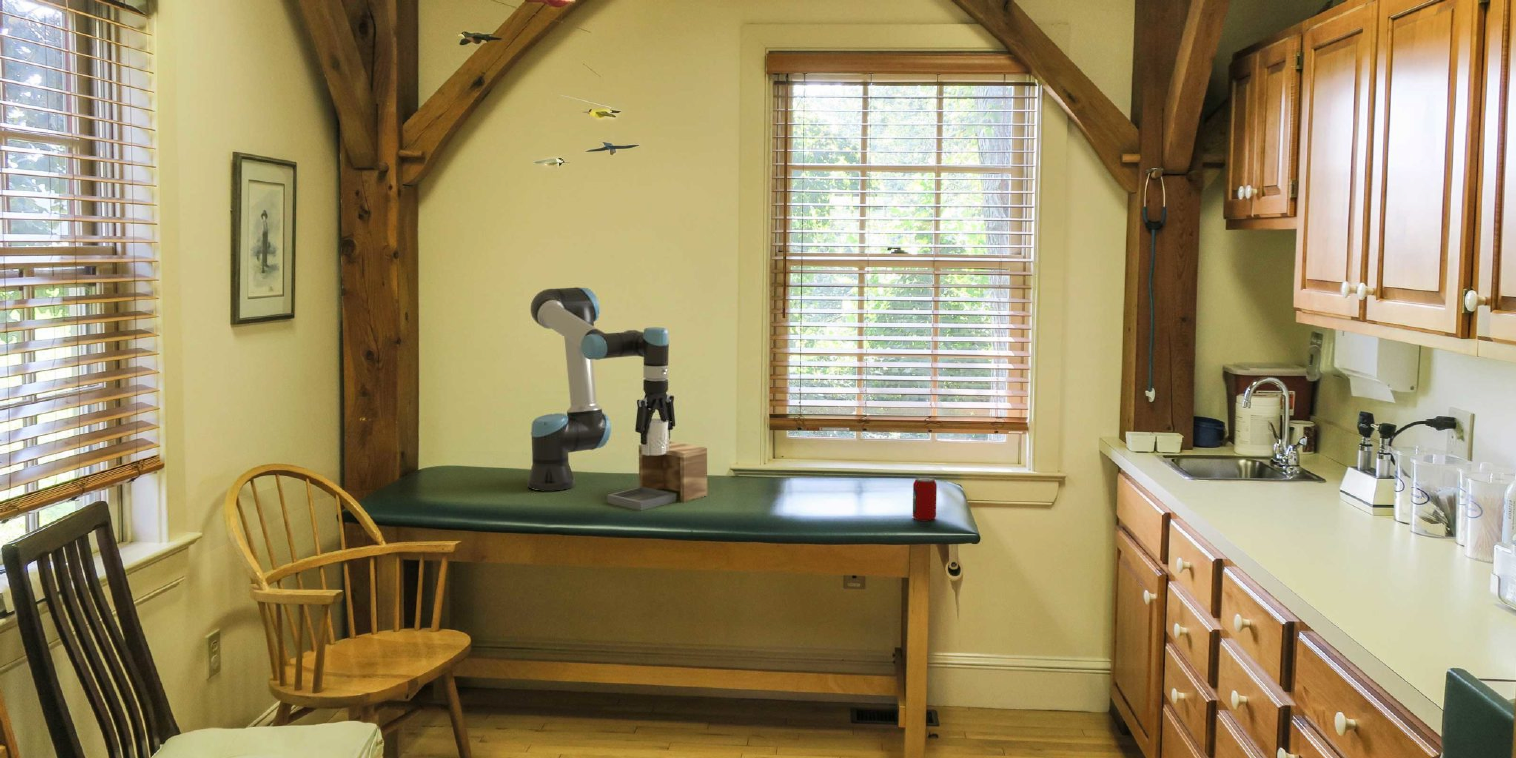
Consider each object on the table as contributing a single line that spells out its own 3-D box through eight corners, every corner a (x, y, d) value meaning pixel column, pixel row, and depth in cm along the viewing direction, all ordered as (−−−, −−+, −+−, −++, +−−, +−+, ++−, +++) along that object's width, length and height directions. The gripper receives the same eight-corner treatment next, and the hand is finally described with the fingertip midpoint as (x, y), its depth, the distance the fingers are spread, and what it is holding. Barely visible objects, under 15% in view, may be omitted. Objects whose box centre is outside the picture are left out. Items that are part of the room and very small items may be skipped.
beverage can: (919, 514, 342) (919, 475, 340) (939, 518, 338) (940, 477, 336) (908, 519, 336) (909, 479, 335) (929, 523, 332) (930, 482, 331)
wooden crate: (639, 492, 370) (638, 444, 368) (662, 486, 378) (662, 440, 376) (684, 502, 357) (683, 452, 355) (707, 496, 365) (707, 447, 363)
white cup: (663, 456, 349) (664, 424, 347) (638, 455, 351) (639, 422, 349) (670, 451, 357) (671, 419, 355) (646, 449, 358) (646, 417, 356)
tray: (607, 502, 356) (607, 494, 356) (642, 494, 368) (642, 486, 367) (641, 510, 347) (640, 502, 346) (676, 501, 358) (676, 493, 358)
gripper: (640, 384, 340) (639, 459, 343) (688, 376, 355) (687, 449, 359) (622, 381, 344) (622, 455, 348) (670, 373, 360) (670, 445, 364)
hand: (655, 452), depth 353 cm, fingers closed on white cup, 7 cm apart
